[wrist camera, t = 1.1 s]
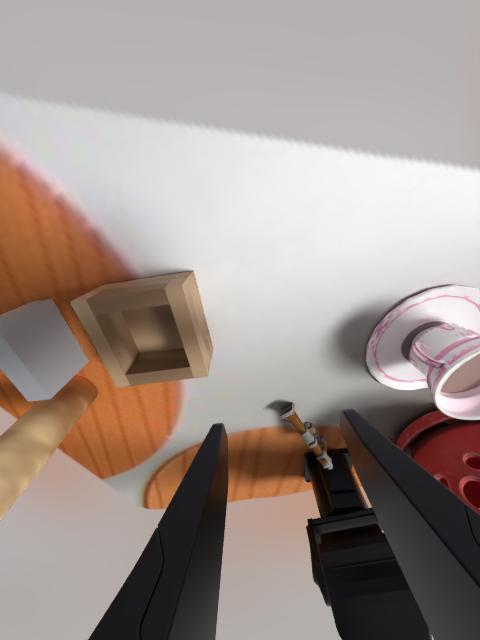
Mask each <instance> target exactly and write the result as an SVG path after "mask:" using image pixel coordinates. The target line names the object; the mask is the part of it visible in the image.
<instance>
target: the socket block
mask: <svg viewBox="0 0 480 640" xmlns="http://www.w3.org/2000/svg"><path fill="white" fill-rule="evenodd" d="M70 304H71V306H72V307H73V309H74V311H75V313H76V315H77V316H78V318H79V320H80V322H81V324H82V325H83V327H84V329H85V331H86V333H87V334H88V336H89V338H90V340H91V341H92V343H93V345H94V347H95V349H96V350H97V352H98V354H99V356H100V358H101V359H102V361H103V363H104V365H105V367H106V368H107V370H108V372H109V374H110V376H111V377H112V379H113V381H114V383H115V384H116V386H117V387H125V386H133V385H142V384H150V383H158V382H166V381H174V380H182V379H191V378H199V377H207V376H208V374H209V369H210V363H211V358H212V353H213V346H212V342H211V338H210V334H209V330H208V326H207V322H206V319H205V315H204V311H203V307H202V303H201V299H200V295H199V291H198V287H197V283H196V279H195V275H194V271H187V272H181V273H175V274H168V275H162V276H155V277H149V278H143V279H136V280H130V281H123V282H117V283H111V284H104V285H101V286H99V287H98V288H96V289H94V290H92V291H90V292H88V293H86V294H84V295H82V296H80V297H78V298H76V299H75V300H73V301H71V302H70Z"/></svg>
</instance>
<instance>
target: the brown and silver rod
mask: <svg viewBox="0 0 480 640" xmlns="http://www.w3.org/2000/svg"><path fill="white" fill-rule="evenodd" d="M279 418H281V420H282V419H284V418H285V419H286V420H287V421H289V422H290V423H291V424H292V425H293V426H294V427H295V428H296V429H297V430H298V432H299V433H300V436H301V437H302V438H303V439H304V441H305V442H306V444H308V447H309V448H312V450H313V451H314V453H315V454H316V455H317V459H318V460H319V461H320V463H321V464H322V465H323V467H324V469H325V468H328V469H332V468H333V465H332V462H331V459H330V458H329V456H328V455H327V450H326V446H327V444H326V440H325V438H324V436H323V435H322V436H320V437H319V433H318V429H315V427H314V426H313V424H310V423H309V422H307V423H305V426H306V427H305V426H304V425H303V423H302V422H301V420H300V419H299V417H298V416H297V414H296V412H295V411H294V404H292V405H290V406H288V407H287V408H285V409H283V410H280V416H279ZM317 439H318V443H317ZM318 444H319V445H318Z"/></svg>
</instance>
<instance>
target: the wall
mask: <svg viewBox="0 0 480 640" xmlns="http://www.w3.org/2000/svg"><path fill="white" fill-rule="evenodd" d="M88 362H89V360H88V358H87V356H86V355H85V353H84V351H83V350H82V348H81V346H80V345H79V343H78V341H77V340H76V338H75V336H74V334H73V333H72V331H71V329H70V328H69V326H68V324H67V323H66V321H65V319H64V318H63V316H62V314H61V313H60V311H59V309H58V308H57V306H56V304H55V302H54V301H53V299H45V300H39V301H32V302H29V303H27V304H25V305H22V306H20V307H17V308H15V309H13V310H10V311H8V312H6V313H3V314H1V315H0V369H1V370H2V371H3V372H4V374H5V375H6V376H7V377H8V378H9V380H10V381H11V382H12V383H13V384H14V385H15V387H16V388H17V389H18V390H19V391H20V393H21V394H22V395H23V396H24V397H25V398H26V400H27V401H28V402H30V401H39V400H47V399H51V398H52V397H53V396H54V395H55V394H56V393H57V392H58V391H59V390H60V389H61V388H62V387H63V386H64V385H65V384H67V383H68V382H69V381H70V380H71V379H72V378H73V377H74V376H75V375H76V374H77V373H78V372H79V371H80V370H81V369H82V368H83V367H84V366H85V365H86V364H87V363H88Z"/></svg>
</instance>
